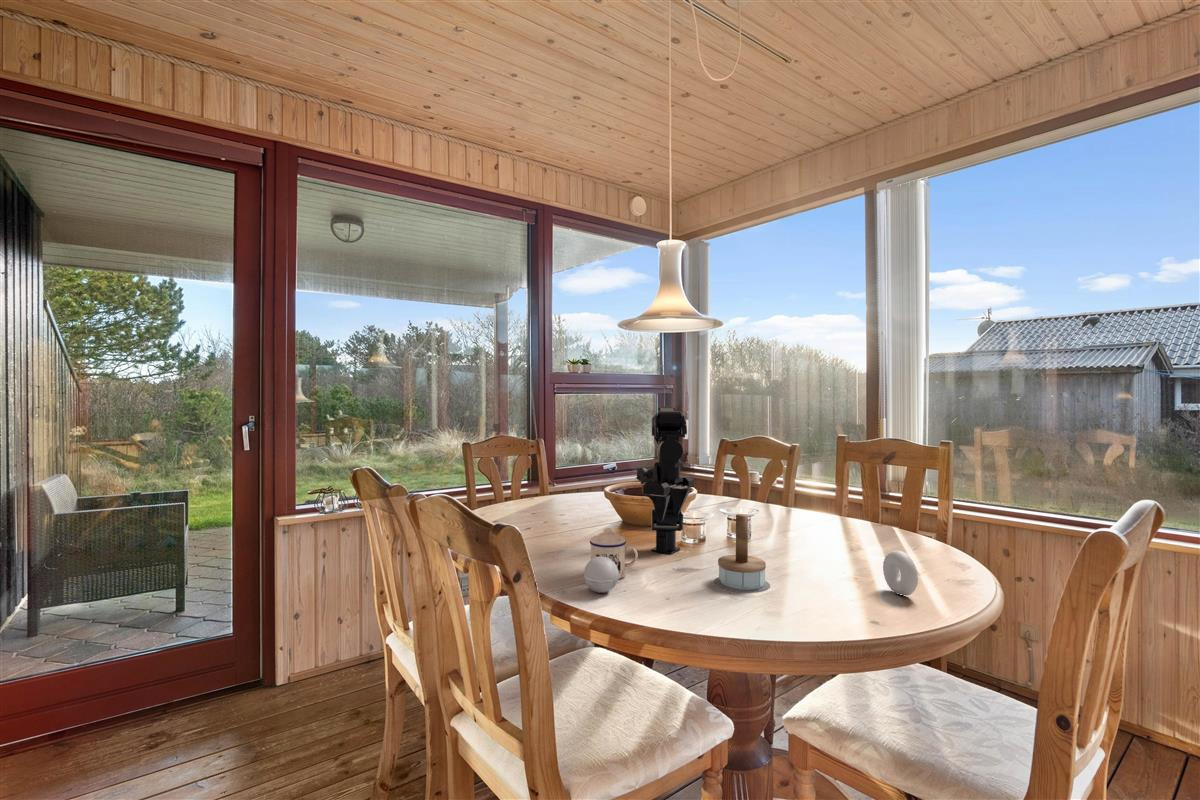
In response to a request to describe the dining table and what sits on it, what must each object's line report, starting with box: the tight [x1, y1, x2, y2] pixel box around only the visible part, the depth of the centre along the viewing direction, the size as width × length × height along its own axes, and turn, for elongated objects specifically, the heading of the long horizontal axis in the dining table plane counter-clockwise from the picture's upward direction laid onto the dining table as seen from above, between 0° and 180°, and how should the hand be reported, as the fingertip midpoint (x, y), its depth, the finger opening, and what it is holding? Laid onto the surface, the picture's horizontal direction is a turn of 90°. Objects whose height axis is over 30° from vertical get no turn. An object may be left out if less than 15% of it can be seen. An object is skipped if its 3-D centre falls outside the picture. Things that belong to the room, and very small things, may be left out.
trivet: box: [713, 576, 771, 594], centre depth 135 cm, size 13×13×1 cm
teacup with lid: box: [589, 527, 639, 580], centre depth 141 cm, size 12×9×12 cm
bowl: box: [718, 565, 766, 590], centre depth 135 cm, size 10×10×4 cm
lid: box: [717, 513, 767, 573], centre depth 135 cm, size 11×11×12 cm
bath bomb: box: [583, 556, 619, 594], centre depth 130 cm, size 8×8×8 cm
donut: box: [882, 549, 919, 596], centre depth 128 cm, size 10×4×10 cm, turn 6°
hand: (668, 517), depth 149 cm, fingers open, 9 cm apart
